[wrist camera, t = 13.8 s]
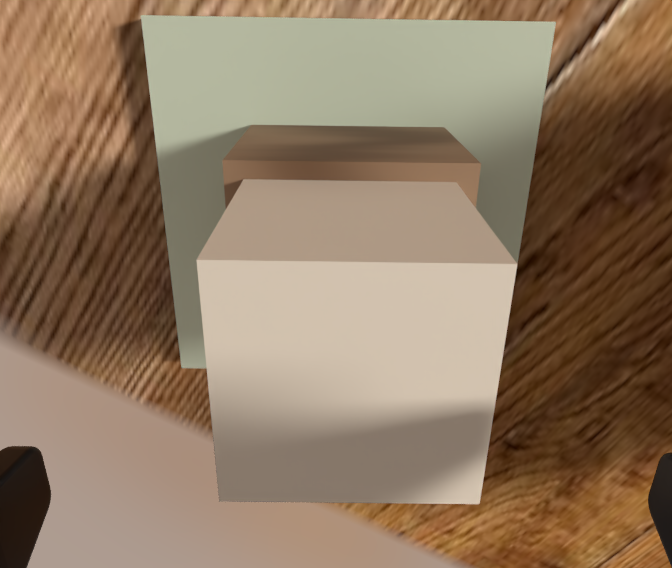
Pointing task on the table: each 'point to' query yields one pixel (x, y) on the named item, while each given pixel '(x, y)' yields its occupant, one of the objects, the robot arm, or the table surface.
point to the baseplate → (334, 109)
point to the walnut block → (350, 156)
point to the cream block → (353, 341)
